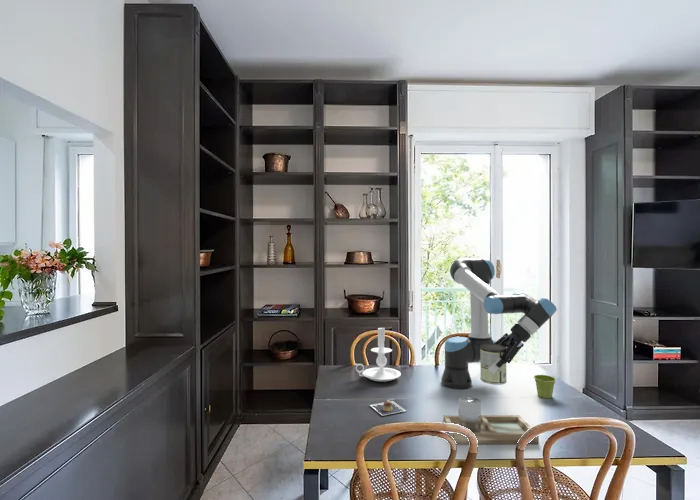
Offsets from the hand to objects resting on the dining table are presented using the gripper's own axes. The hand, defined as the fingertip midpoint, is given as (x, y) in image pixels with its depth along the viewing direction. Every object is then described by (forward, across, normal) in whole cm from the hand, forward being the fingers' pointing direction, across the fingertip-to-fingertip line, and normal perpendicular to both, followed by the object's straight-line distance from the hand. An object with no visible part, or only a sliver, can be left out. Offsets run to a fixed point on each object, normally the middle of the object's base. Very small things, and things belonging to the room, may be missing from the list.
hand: (485, 367), depth 161 cm
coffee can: (+2, 0, -6) cm, 6 cm away
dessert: (+43, +9, +13) cm, 46 cm away
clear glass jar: (+21, -14, -6) cm, 26 cm away
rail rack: (+17, -14, -12) cm, 25 cm away
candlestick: (+44, +48, +14) cm, 66 cm away
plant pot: (-11, +23, -40) cm, 47 cm away
